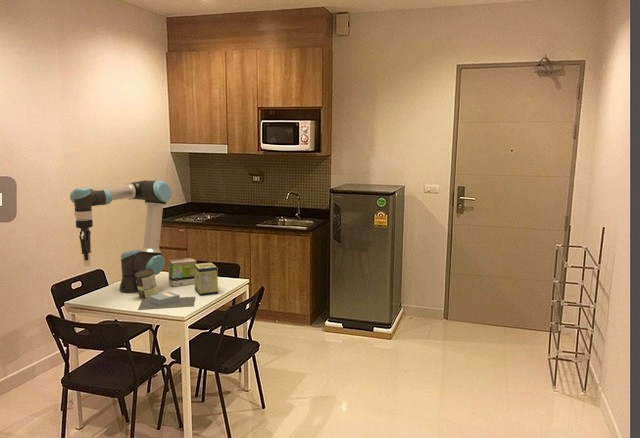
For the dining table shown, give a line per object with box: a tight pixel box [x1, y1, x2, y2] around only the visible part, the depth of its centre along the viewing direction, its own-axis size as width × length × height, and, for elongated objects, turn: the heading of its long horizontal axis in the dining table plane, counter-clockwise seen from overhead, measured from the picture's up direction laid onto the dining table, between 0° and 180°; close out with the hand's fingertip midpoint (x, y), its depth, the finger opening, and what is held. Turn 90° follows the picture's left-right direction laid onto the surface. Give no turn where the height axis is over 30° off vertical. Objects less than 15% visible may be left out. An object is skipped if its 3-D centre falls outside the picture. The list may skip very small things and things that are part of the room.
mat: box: [137, 296, 196, 311], centre depth 266 cm, size 18×28×1 cm, turn 102°
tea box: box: [167, 257, 198, 288], centre depth 306 cm, size 15×10×15 cm, turn 120°
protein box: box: [194, 261, 219, 297], centre depth 289 cm, size 10×16×16 cm
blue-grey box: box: [150, 291, 181, 306], centre depth 268 cm, size 4×10×12 cm
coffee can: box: [135, 269, 159, 300], centre depth 276 cm, size 10×10×14 cm
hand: (87, 266), depth 249 cm, fingers closed
